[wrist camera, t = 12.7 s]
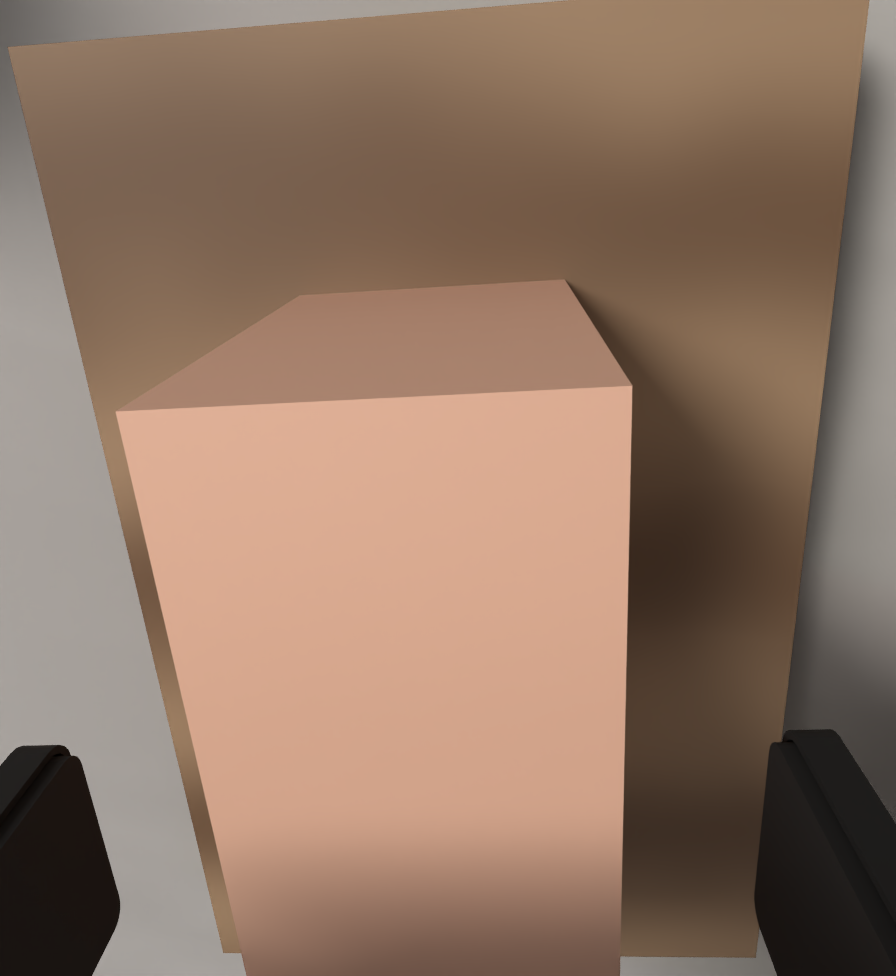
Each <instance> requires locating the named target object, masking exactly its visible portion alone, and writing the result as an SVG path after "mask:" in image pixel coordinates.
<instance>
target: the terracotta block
mask: <svg viewBox="0 0 896 976" xmlns="http://www.w3.org/2000/svg"><path fill="white" fill-rule="evenodd" d="M116 416H117V420H118V424H119V429H120V433H121V437H122V442H123V446H124V450H125V455H126V459H127V463H128V468H129V472H130V476H131V480H132V485H133V489H134V493H135V498H136V502H137V506H138V511H139V515H140V519H141V523H142V528H143V532H144V536H145V541H146V545H147V549H148V554H149V558H150V562H151V566H152V571H153V575H154V579H155V584H156V588H157V592H158V597H159V601H160V605H161V609H162V614H163V618H164V622H165V627H166V631H167V635H168V640H169V644H170V648H171V652H172V657H173V661H174V665H175V670H176V674H177V678H178V683H179V687H180V691H181V695H182V700H183V704H184V708H185V713H186V717H187V721H188V726H189V730H190V734H191V739H192V743H193V747H194V751H195V756H196V760H197V764H198V769H199V773H200V777H201V782H202V786H203V790H204V794H205V799H206V803H207V807H208V812H209V816H210V820H211V825H212V829H213V833H214V837H215V842H216V846H217V850H218V855H219V859H220V863H221V868H222V872H223V876H224V880H225V885H226V889H227V893H228V898H229V902H230V906H231V911H232V915H233V919H234V923H235V928H236V932H237V936H238V941H239V945H240V949H241V954H242V958H243V962H244V967H245V971H246V975H247V976H620V943H621V896H622V849H623V803H624V756H625V709H626V662H627V615H628V569H629V522H630V475H631V428H632V384H631V383H630V381H629V380H628V378H627V376H626V375H625V373H624V372H623V370H622V369H621V367H620V366H619V364H618V362H617V361H616V359H615V358H614V356H613V355H612V353H611V351H610V350H609V348H608V347H607V345H606V344H605V342H604V340H603V339H602V337H601V336H600V334H599V333H598V331H597V329H596V328H595V326H594V325H593V323H592V322H591V320H590V318H589V317H588V315H587V314H586V312H585V311H584V309H583V307H582V306H581V304H580V303H579V301H578V300H577V298H576V296H575V295H574V293H573V292H572V290H571V289H570V287H569V285H568V284H567V282H566V281H565V279H563V280H546V281H530V282H513V283H497V284H480V285H464V286H447V287H431V288H414V289H398V290H382V291H365V292H349V293H332V294H316V295H300V296H298V297H296V298H295V299H293V300H292V301H290V302H288V303H287V304H285V305H284V306H282V307H280V308H279V309H277V310H276V311H274V312H273V313H271V314H269V315H268V316H266V317H265V318H263V319H261V320H260V321H258V322H257V323H255V324H254V325H252V326H250V327H249V328H247V329H246V330H244V331H242V332H241V333H239V334H238V335H236V336H235V337H233V338H231V339H230V340H228V341H227V342H225V343H223V344H222V345H220V346H219V347H217V348H215V349H214V350H212V351H211V352H209V353H208V354H206V355H204V356H203V357H201V358H200V359H198V360H196V361H195V362H193V363H192V364H190V365H189V366H187V367H185V368H184V369H182V370H181V371H179V372H177V373H176V374H174V375H173V376H171V377H169V378H168V379H166V380H165V381H163V382H162V383H160V384H158V385H157V386H155V387H154V388H152V389H150V390H149V391H147V392H146V393H144V394H143V395H141V396H139V397H138V398H136V399H135V400H133V401H131V402H130V403H128V404H127V405H125V406H124V407H122V408H120V409H119V410H117V411H116Z"/></svg>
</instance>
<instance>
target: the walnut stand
mask: <svg viewBox="0 0 896 976" xmlns="http://www.w3.org/2000/svg"><path fill="white" fill-rule="evenodd" d="M868 7H869V0H568V1H556V2H543V3H531V4H519V5H507V6H495V7H483V8H471V9H459V10H447V11H435V12H423V13H411V14H399V15H387V16H375V17H363V18H351V19H339V20H327V21H315V22H303V23H290V24H278V25H266V26H254V27H242V28H230V29H218V30H206V31H194V32H182V33H170V34H158V35H146V36H134V37H122V38H110V39H98V40H86V41H74V42H62V43H50V44H37V45H25V46H13V47H8V51H9V55H10V60H11V64H12V68H13V72H14V76H15V81H16V85H17V89H18V93H19V97H20V101H21V106H22V110H23V114H24V118H25V122H26V127H27V131H28V135H29V139H30V143H31V148H32V152H33V156H34V160H35V164H36V169H37V173H38V177H39V181H40V185H41V190H42V194H43V198H44V202H45V206H46V211H47V215H48V219H49V223H50V227H51V232H52V236H53V240H54V244H55V248H56V252H57V257H58V261H59V265H60V269H61V273H62V278H63V282H64V286H65V290H66V294H67V299H68V303H69V307H70V311H71V315H72V320H73V324H74V328H75V332H76V336H77V341H78V345H79V349H80V353H81V357H82V362H83V366H84V370H85V374H86V378H87V382H88V387H89V391H90V395H91V399H92V403H93V408H94V412H95V416H96V420H97V424H98V429H99V433H100V437H101V441H102V445H103V450H104V454H105V458H106V462H107V466H108V471H109V475H110V479H111V483H112V487H113V492H114V496H115V500H116V504H117V508H118V513H119V517H120V521H121V525H122V529H123V533H124V538H125V542H126V546H127V550H128V554H129V559H130V563H131V567H132V571H133V575H134V580H135V584H136V588H137V592H138V596H139V601H140V605H141V609H142V613H143V617H144V622H145V626H146V630H147V634H148V638H149V643H150V647H151V651H152V655H153V659H154V663H155V668H156V672H157V676H158V680H159V684H160V689H161V693H162V697H163V701H164V705H165V710H166V714H167V718H168V722H169V726H170V731H171V735H172V739H173V743H174V747H175V752H176V756H177V760H178V764H179V768H180V773H181V777H182V781H183V785H184V789H185V794H186V798H187V802H188V806H189V810H190V814H191V819H192V823H193V827H194V831H195V835H196V840H197V844H198V848H199V852H200V856H201V861H202V865H203V869H204V873H205V877H206V882H207V886H208V890H209V894H210V898H211V903H212V907H213V911H214V915H215V919H216V924H217V928H218V932H219V936H220V940H221V944H222V949H223V953H241V949H240V945H239V941H238V936H237V932H236V928H235V923H234V919H233V915H232V911H231V906H230V902H229V898H228V893H227V889H226V885H225V880H224V876H223V872H222V868H221V863H220V859H219V855H218V850H217V846H216V842H215V837H214V833H213V829H212V825H211V820H210V816H209V812H208V807H207V803H206V799H205V794H204V790H203V786H202V782H201V777H200V773H199V769H198V764H197V760H196V756H195V751H194V747H193V743H192V739H191V734H190V730H189V726H188V721H187V717H186V713H185V708H184V704H183V700H182V695H181V691H180V687H179V683H178V678H177V674H176V670H175V665H174V661H173V657H172V652H171V648H170V644H169V640H168V635H167V631H166V627H165V622H164V618H163V614H162V609H161V605H160V601H159V597H158V592H157V588H156V584H155V579H154V575H153V571H152V566H151V562H150V558H149V554H148V549H147V545H146V541H145V536H144V532H143V528H142V523H141V519H140V515H139V511H138V506H137V502H136V498H135V493H134V489H133V485H132V480H131V476H130V472H129V468H128V463H127V459H126V455H125V450H124V446H123V442H122V437H121V433H120V429H119V424H118V420H117V416H116V411H117V410H119V409H120V408H122V407H124V406H125V405H127V404H128V403H130V402H131V401H133V400H135V399H136V398H138V397H139V396H141V395H143V394H144V393H146V392H147V391H149V390H150V389H152V388H154V387H155V386H157V385H158V384H160V383H162V382H163V381H165V380H166V379H168V378H169V377H171V376H173V375H174V374H176V373H177V372H179V371H181V370H182V369H184V368H185V367H187V366H189V365H190V364H192V363H193V362H195V361H196V360H198V359H200V358H201V357H203V356H204V355H206V354H208V353H209V352H211V351H212V350H214V349H215V348H217V347H219V346H220V345H222V344H223V343H225V342H227V341H228V340H230V339H231V338H233V337H235V336H236V335H238V334H239V333H241V332H242V331H244V330H246V329H247V328H249V327H250V326H252V325H254V324H255V323H257V322H258V321H260V320H261V319H263V318H265V317H266V316H268V315H269V314H271V313H273V312H274V311H276V310H277V309H279V308H280V307H282V306H284V305H285V304H287V303H288V302H290V301H292V300H293V299H295V298H296V297H298V296H300V295H316V294H332V293H349V292H365V291H382V290H398V289H414V288H431V287H447V286H464V285H480V284H497V283H513V282H530V281H546V280H563V279H565V281H566V282H567V284H568V285H569V287H570V289H571V290H572V292H573V293H574V295H575V296H576V298H577V300H578V301H579V303H580V304H581V306H582V307H583V309H584V311H585V312H586V314H587V315H588V317H589V318H590V320H591V322H592V323H593V325H594V326H595V328H596V329H597V331H598V333H599V334H600V336H601V337H602V339H603V340H604V342H605V344H606V345H607V347H608V348H609V350H610V351H611V353H612V355H613V356H614V358H615V359H616V361H617V362H618V364H619V366H620V367H621V369H622V370H623V372H624V373H625V375H626V376H627V378H628V380H629V381H630V383H631V384H632V428H631V475H630V522H629V569H628V615H627V662H626V709H625V756H624V803H623V849H622V896H621V943H620V956H636V957H750V958H756V951H757V942H758V934H759V924H758V920H757V916H756V911H755V903H754V891H755V881H756V871H757V862H758V852H759V843H760V833H761V823H762V814H763V804H764V795H765V785H766V776H767V766H768V756H769V749H770V745H771V744H772V743H773V742H781V740H782V732H783V723H784V715H785V706H786V698H787V689H788V681H789V673H790V664H791V656H792V647H793V639H794V630H795V622H796V614H797V605H798V597H799V588H800V580H801V571H802V563H803V555H804V546H805V538H806V529H807V521H808V513H809V504H810V496H811V487H812V479H813V470H814V462H815V454H816V445H817V437H818V428H819V420H820V411H821V403H822V395H823V386H824V378H825V369H826V361H827V352H828V344H829V336H830V327H831V319H832V310H833V302H834V294H835V285H836V277H837V268H838V260H839V251H840V243H841V235H842V226H843V218H844V209H845V201H846V192H847V184H848V176H849V167H850V159H851V150H852V142H853V134H854V125H855V117H856V108H857V100H858V91H859V83H860V75H861V66H862V58H863V49H864V41H865V32H866V24H867V16H868Z"/></svg>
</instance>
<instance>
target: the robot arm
mask: <svg viewBox="0 0 896 976" xmlns="http://www.w3.org/2000/svg"><path fill="white" fill-rule="evenodd" d="M754 903H755V911H756V916H757V920H758V924H759V927H760V930H761V933H762V935H763V938H764V941H765V943H766V946H767V949H768V952H769V954H770V957H771V960H772V962H773V965H774V968H775V971H776V973H777V976H896V824H895V822H894V820H893V819H892V817H891V816H890V814H889V813H888V811H887V810H886V808H885V806H884V805H883V803H882V802H881V800H880V799H879V797H878V796H877V794H876V792H875V791H874V789H873V788H872V786H871V785H870V783H869V782H868V780H867V778H866V777H865V775H864V774H863V772H862V771H861V769H860V768H859V766H858V764H857V763H856V761H855V760H854V758H853V757H852V755H851V754H850V752H849V750H848V749H847V747H846V746H845V744H844V743H843V741H842V740H841V738H840V737H839V735H838V734H837V733H836V732H835V731H833V730H831V729H829V730H789V731H786V732H785V734H784V736H783V741H782V742H773V743H772V744H771V745H770V749H769V756H768V766H767V776H766V785H765V795H764V804H763V814H762V823H761V833H760V843H759V852H758V862H757V871H756V881H755V891H754ZM119 913H120V899H119V894H118V891H117V887H116V884H115V880H114V877H113V873H112V870H111V866H110V862H109V859H108V855H107V852H106V848H105V845H104V841H103V838H102V834H101V831H100V827H99V823H98V820H97V816H96V813H95V809H94V806H93V802H92V799H91V795H90V792H89V788H88V785H87V781H86V777H85V774H84V770H83V767H82V764H81V761H80V759H79V758H78V757H77V756H71V755H70V752H69V750H68V749H67V748H66V747H65V746H61V745H41V746H21V747H18V748H16V749H15V750H14V751H13V752H12V753H11V754H10V755H9V756H8V757H7V758H6V760H5V761H4V762H3V763H2V764H1V766H0V976H92V974H93V972H94V970H95V968H96V966H97V964H98V962H99V960H100V958H101V956H102V954H103V952H104V950H105V948H106V946H107V944H108V942H109V940H110V938H111V936H112V934H113V932H114V930H115V928H116V925H117V922H118V919H119Z"/></svg>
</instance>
